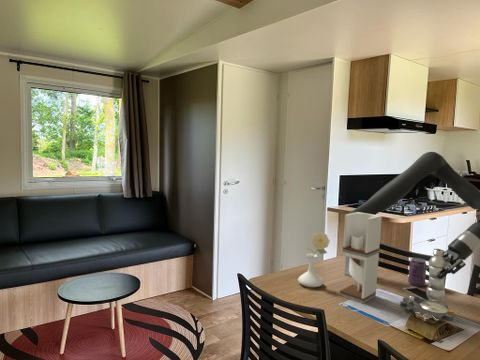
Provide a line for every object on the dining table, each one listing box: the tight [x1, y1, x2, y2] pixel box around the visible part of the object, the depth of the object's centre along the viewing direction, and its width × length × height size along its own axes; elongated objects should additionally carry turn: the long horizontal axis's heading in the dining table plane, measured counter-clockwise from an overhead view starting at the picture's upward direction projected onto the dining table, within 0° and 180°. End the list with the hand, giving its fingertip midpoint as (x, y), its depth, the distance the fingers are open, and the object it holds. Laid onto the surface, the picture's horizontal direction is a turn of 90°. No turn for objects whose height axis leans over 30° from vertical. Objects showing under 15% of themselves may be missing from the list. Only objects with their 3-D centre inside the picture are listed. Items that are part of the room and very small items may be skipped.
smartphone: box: [402, 286, 437, 303], centre depth 155 cm, size 8×1×15 cm
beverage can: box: [407, 257, 428, 287], centre depth 166 cm, size 7×7×12 cm
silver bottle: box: [425, 248, 446, 302], centre depth 137 cm, size 6×7×20 cm
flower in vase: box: [297, 231, 331, 288], centre depth 159 cm, size 13×11×25 cm
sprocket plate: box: [399, 295, 455, 322], centre depth 139 cm, size 19×18×4 cm
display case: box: [339, 212, 383, 304], centre depth 149 cm, size 11×11×35 cm
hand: (432, 274), depth 137 cm, fingers closed on silver bottle, 6 cm apart
